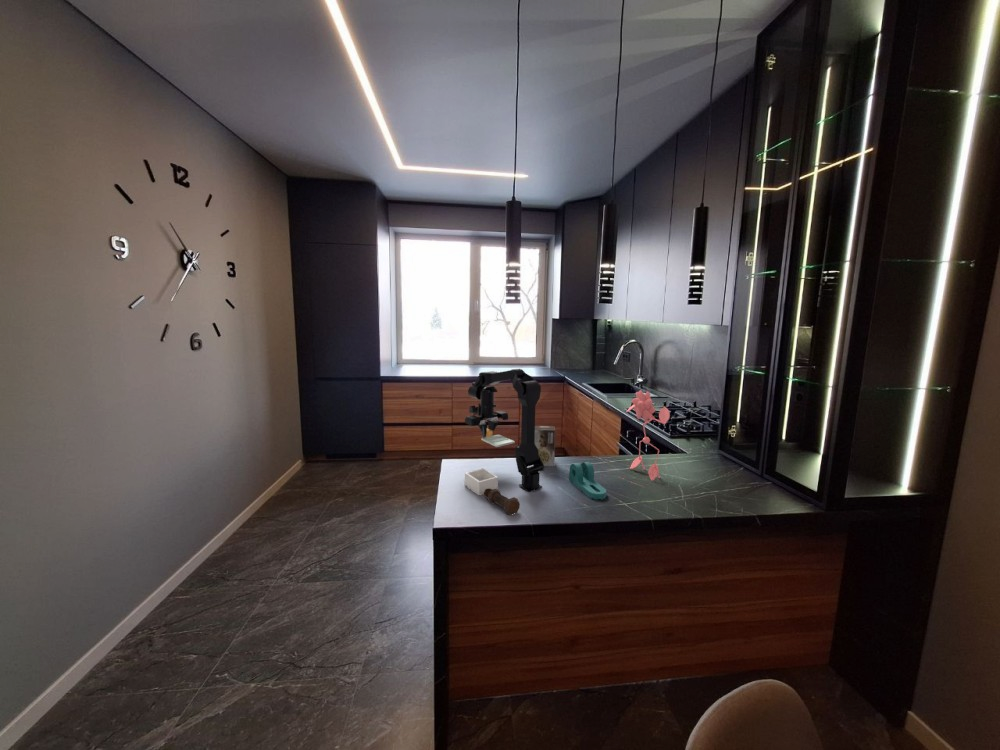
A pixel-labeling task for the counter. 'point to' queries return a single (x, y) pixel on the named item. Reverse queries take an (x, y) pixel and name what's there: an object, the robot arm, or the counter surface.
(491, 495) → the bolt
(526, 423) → the robot arm
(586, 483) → the bracket
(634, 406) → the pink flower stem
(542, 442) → the coffee box
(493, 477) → the parts tub
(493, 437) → the lid
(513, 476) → the counter surface
